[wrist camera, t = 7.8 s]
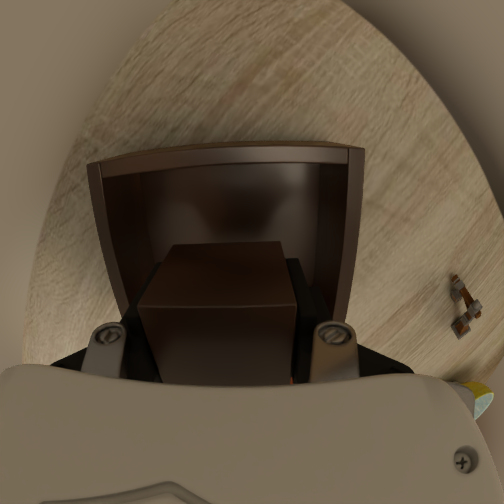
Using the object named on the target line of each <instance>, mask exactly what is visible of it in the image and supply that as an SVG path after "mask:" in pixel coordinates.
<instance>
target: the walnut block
mask: <svg viewBox="0 0 504 504" xmlns="http://www.w3.org/2000/svg"><path fill="white" fill-rule="evenodd" d="M137 309H138V312H139V315H140V319H141V322H142V325H143V328H144V331H145V334H146V337H147V340H148V343H149V346H150V349H151V352H152V355H153V357H154V360H155V363H156V366H157V368H158V371H159V373H160V376H161V379H162V381H163V383H168V384H181V385H200V386H270V385H289V384H290V380H291V370H292V360H293V349H294V338H295V326H296V313H297V303H296V299H295V295H294V291H293V287H292V283H291V279H290V275H289V271H288V267H287V264H286V260H285V256H284V252H283V248H282V245H281V242H280V241H260V242H229V243H200V244H174V245H173V246H172V247H171V249H170V250H169V252H168V254H167V255H166V257H165V259H164V260H163V262H162V263H161V265H160V267H159V268H158V270H157V272H156V273H155V275H154V277H153V279H152V280H151V282H150V284H149V285H148V287H147V289H146V291H145V292H144V294H143V296H142V298H141V299H140V301H139V303H138V305H137Z"/></svg>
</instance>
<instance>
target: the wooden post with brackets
mask: <svg viewBox="0 0 504 504" xmlns="http://www.w3.org/2000/svg"><path fill="white" fill-rule="evenodd" d="M451 281H452V282H453V284H454V285H455V289H454V290H453V291H451V293H452V295H451V298H452V299H453V301H454V303H457V302H458V301H459V300H461V299H462V297H463V299H464V301H465V304H466V307H467V312H465V313H464V314H463V316H462V318H461V319H460V320H459V321H458V322H457V323H455V324H454V325H453V326H452V327H451V328H452V330H453V331H454V333H455V335H456V336H457V338H458V340H459V339H461V338H462V337H463V336H465V335H466V334H467V333H468V332H470V331H471V329H470V327H469V323H470V322H471V321H472V320H473V319H474V318H476V319H477V318H479V317H480V316H481V311H480V310H481V308H483V307H482V305H481V304H480V302H479V301H478V299H476V300H475V301H474V300H473V298H472V297H471V295H470V294H469V292H468V291H467V289H466V288H465V284H464V283H463V282H462V280H460V278H458V276H457V274H456V275H455V276H453V277H452V279H451Z"/></svg>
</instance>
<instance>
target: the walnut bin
mask: <svg viewBox="0 0 504 504" xmlns="http://www.w3.org/2000/svg"><path fill="white" fill-rule="evenodd" d="M364 163H365V149H364V148H361V147H356V146H350V145H345V144H339V143H333V142H323V141H238V142H220V143H206V144H194V145H183V146H174V147H166V148H158V149H150V150H143V151H137V152H130V153H126V154H122V155H119V156H115V157H111V158H107V159H104V160H100V161H97V162H93V163H90V164H87V166H86V167H87V174H88V182H89V188H90V195H91V201H92V206H93V212H94V217H95V222H96V227H97V231H98V236H99V240H100V245H101V249H102V253H103V257H104V261H105V265H106V268H107V272H108V275H109V279H110V282H111V286H112V289H113V292H114V296H115V299H116V302H117V305H118V308H119V311H120V314H121V317H123V316H124V314H125V312H126V311H127V309H128V307H129V305H130V304H131V302H132V300H133V299H134V297H135V295H136V294H137V292H138V291H139V290H140V289H141V287H142V285H143V284H144V282H145V280H146V279H147V277H148V276H149V274H150V272H151V271H152V269H153V268H154V266H155V264H156V263H157V262H163V260H164V259H165V257H166V255H167V254H168V252H169V250H170V249H171V247H172V246H173V245H174V244H200V243H229V242H260V241H280V242H281V245H282V248H283V252H284V256H285V258H298V259H299V261H300V264H301V267H302V270H303V273H304V275H305V278H306V281H307V284H308V287H316V286H318V287H319V288H320V291H321V293H322V296H323V298H324V301H325V303H326V306H327V308H328V311H329V313H330V316H331V319H332V320H336V321H342V322H344V323H345V319H346V314H347V308H348V303H349V298H350V292H351V286H352V280H353V274H354V267H355V260H356V253H357V245H358V237H359V228H360V219H361V208H362V196H363V182H364Z"/></svg>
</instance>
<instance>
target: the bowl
mask: <svg viewBox="0 0 504 504" xmlns="http://www.w3.org/2000/svg"><path fill="white" fill-rule="evenodd" d="M452 383H457V384H459V382H457V381H455V382H452ZM461 385H464V386H466V387H468V388H469V389H470V390H472V392H473V394H474V396H475V410H474V420H476V419H477V418H478V417H479V416H480V415H481V414H482V413H483V412H484V411H485V410H486V408H487V407H488V406H489V404H490V403H491V401H492V399H493V397H494V394H493V392H492V391H491V390H490V389H489V388H488V387H487V386H485V385H484V384H482V383H479V382H465V383H461Z"/></svg>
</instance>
